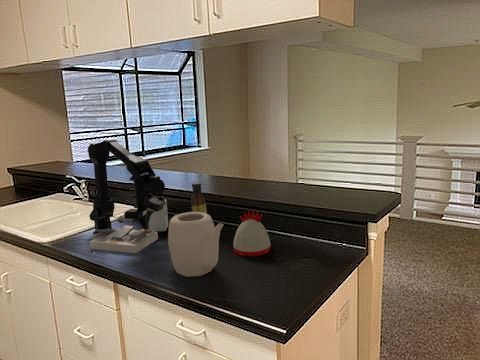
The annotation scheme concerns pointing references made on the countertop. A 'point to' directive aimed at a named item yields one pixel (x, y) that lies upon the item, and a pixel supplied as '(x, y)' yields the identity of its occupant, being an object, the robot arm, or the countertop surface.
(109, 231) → the rocker
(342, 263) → the countertop surface
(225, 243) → the countertop surface
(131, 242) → the switch board
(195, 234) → the watering can
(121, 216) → the soupspoon
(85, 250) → the countertop surface
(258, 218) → the kitchen timer
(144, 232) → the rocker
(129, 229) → the rocker
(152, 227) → the supplement box
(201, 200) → the sauce bottle
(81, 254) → the countertop surface
